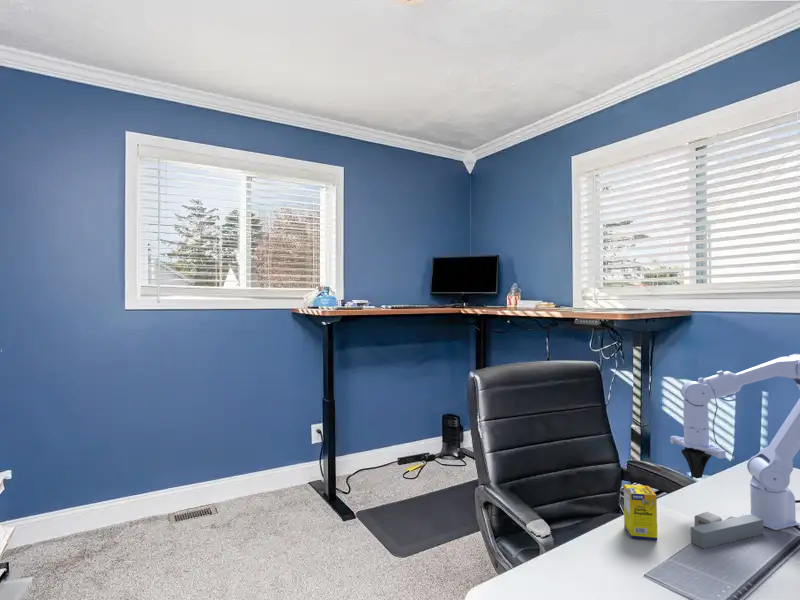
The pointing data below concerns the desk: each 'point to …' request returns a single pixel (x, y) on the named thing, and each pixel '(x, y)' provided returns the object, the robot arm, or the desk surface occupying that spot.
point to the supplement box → (640, 512)
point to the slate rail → (726, 530)
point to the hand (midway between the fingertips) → (697, 477)
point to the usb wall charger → (706, 518)
